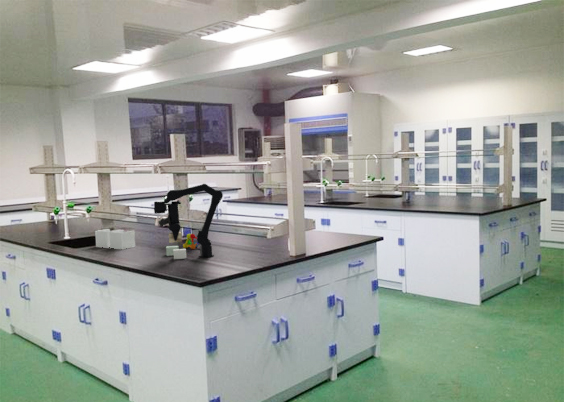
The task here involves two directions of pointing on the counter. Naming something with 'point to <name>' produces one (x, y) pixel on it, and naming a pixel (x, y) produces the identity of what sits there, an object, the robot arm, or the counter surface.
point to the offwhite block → (179, 253)
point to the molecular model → (187, 244)
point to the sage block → (170, 250)
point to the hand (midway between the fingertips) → (175, 239)
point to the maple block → (171, 238)
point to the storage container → (115, 239)
